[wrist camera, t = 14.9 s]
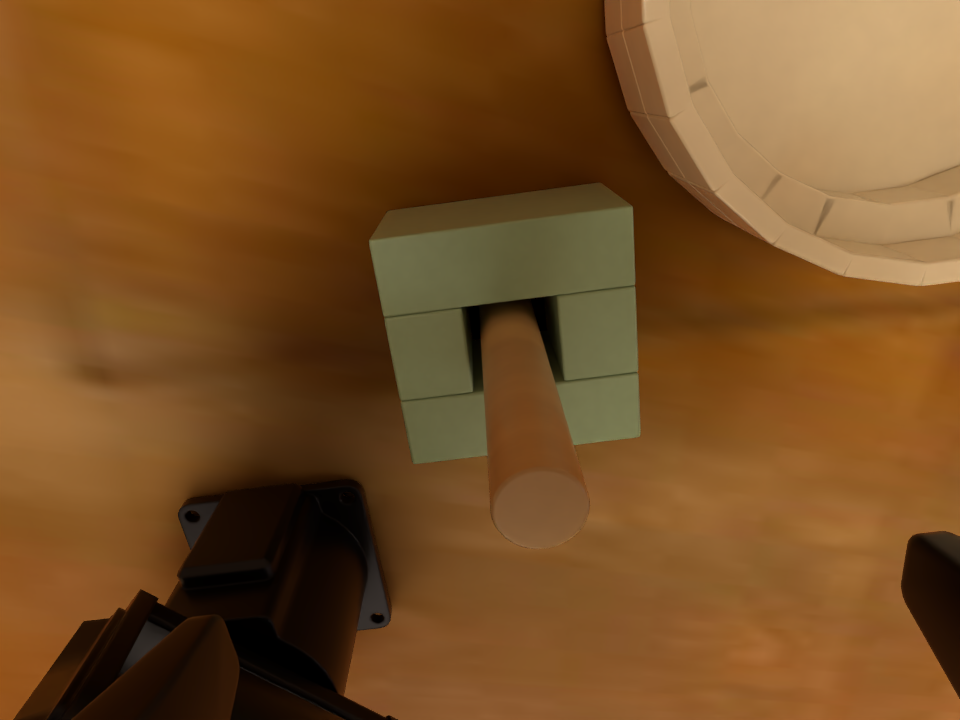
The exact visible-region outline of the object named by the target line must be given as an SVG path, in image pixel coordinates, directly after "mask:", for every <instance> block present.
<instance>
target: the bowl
mask: <svg viewBox="0 0 960 720" xmlns="http://www.w3.org/2000/svg"><path fill="white" fill-rule="evenodd" d="M604 5H605V26H606V35H607V42H608V45H609V49H610V52H611V55H612V59H613V62H614V65H615V69H616V72H617V75H618V79H619V82H620V85H621V89H622V92H623V95H624V99H625V102H626V106H627V109H628V111H631V112H630V114H631V117H632V118H633V120H634V121H635V123H636V125H637V126H638V128H639V129H640V131H641V133H642V134H643V136H644V137H645V139H646V141H647V142H648V144H649V145H650V147H651V148H652V150H653V152H654V153H655V155H656V156H657V158H658V160H659V161H660V163H661V164H662V166H663V168H664V169H665V170H666V171H668V174H669V175H670V176H671V177H672V178H673V179H675V180H676V181H677V182H678V183H679V184H680V185H681V186H682V187H684V188H685V189H686V190H687V191H688V192H689V193H690V194H692V195H693V196H694V197H695V198H696V199H697V200H698V201H700V202H701V203H702V204H703V205H704V206H705V207H706V208H708V209H709V210H710V211H711V212H712V213H713V214H715V215H717V216H718V217H720V218H721V219H723V220H725V221H727V222H729V223H731V224H733V225H735V226H737V227H739V228H740V229H742V230H744V231H746V232H748V233H750V234H752V235H754V236H755V237H757V238H759V239H761V240H763V241H765V242H767V243H769V244H771V245H773V246H775V247H777V248H779V249H781V250H783V251H786V252H788V253H790V254H792V255H795V256H797V257H799V258H801V259H804V260H806V261H808V262H810V263H813V264H815V265H817V266H819V267H822V268H824V269H826V270H828V271H831V272H833V273H835V274H837V275H842V276H844V277H851V278H859V279H866V280H874V281H881V282H889V283H897V284H904V285H912V286H919V285H920V286H926V285H934V284H942V283H950V282H958V281H960V0H604Z"/></svg>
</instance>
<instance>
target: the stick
mask: <svg viewBox="0 0 960 720" xmlns="http://www.w3.org/2000/svg"><path fill="white" fill-rule="evenodd" d="M479 318H480V335H481V353H482V370H483V388H484V405H485V423H486V440H487V458H488V475H489V492H490V510H491V517H492V520H493V523H494V525H495V526H496V528H497V529H498V531H499V532H500V533H501V534H502V535H503V536H504V537H505V538H506V539H508V540H509V541H510V542H512V543H514V544H516V545H519V546H522V547H525V548H531V549H545V548H551V547H555V546H558V545H560V544H563V543H565V542H566V541H568V540H570V539H571V538H573V537H574V536H575V535H576V534H577V533H578V532H579V531H580V530H581V528H582V527H583V525H584V524H585V522H586V520H587V517H588V514H589V509H590V500H589V495H588V491H587V488H586V485H585V481H584V478H583V475H582V471H581V468H580V465H579V461H578V458H577V454H576V451H575V448H574V444H573V441H572V438H571V434H570V431H569V428H568V424H567V421H566V418H565V414H564V411H563V407H562V404H561V401H560V397H559V394H558V391H557V387H556V384H555V381H554V377H553V374H552V371H551V367H550V364H549V360H548V357H547V354H546V350H545V347H544V344H543V340H542V337H541V334H540V330H539V327H538V323H537V320H536V317H535V313H534V310H533V307H532V303H531V300H530V299H522V300H515V301H507V302H499V303H491V304H483V305H479Z"/></svg>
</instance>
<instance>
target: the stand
mask: <svg viewBox="0 0 960 720" xmlns="http://www.w3.org/2000/svg"><path fill="white" fill-rule="evenodd" d="M369 246H370V251H371V256H372V261H373V267H374V272H375V277H376V282H377V287H378V292H379V297H380V302H381V307H382V312H383V316H384V317H385V319H384V322H385V327H386V332H387V337H388V342H389V347H390V352H391V357H392V362H393V367H394V372H395V378H396V383H397V388H398V393H399V398H400V399H401V408H402V413H403V418H404V423H405V428H406V433H407V438H408V443H409V448H410V453H411V458H412V462H413V463H414V464H421V463H429V462H437V461H446V460H454V459H462V458H470V457H479V456H487V440H486V423H485V405H484V388H483V370H482V353H481V339H477V340H472V332H471V325H470V317H469V310H468V306H476V305H483V304H491V303H499V302H507V301H515V300H522V299H530V298H538V297H544V304H545V315H546V326H547V330H548V331H540V334H541V337H542V340H543V344H544V347H545V350H546V354H547V357H548V360H549V364H550V367H551V371H552V374H553V377H554V381H555V384H556V387H557V391H558V394H559V397H560V401H561V404H562V407H563V411H564V414H565V418H566V421H567V424H568V428H569V431H570V434H571V438H572V441H573V444H574V445H578V444H586V443H595V442H603V441H611V440H619V439H628V438H636V437H640V434H641V430H640V402H639V374H638V373H637V371H638V341H637V313H636V288H635V286H634V285H635V283H636V281H635V252H634V224H633V207H632V205H630V204H629V203H628V202H626V201H625V200H624V199H622V198H621V197H620V196H618V195H617V194H615V193H614V192H613V191H611V190H610V189H609V188H607V187H606V186H605V185H603V184H602V183H592V184H584V185H577V186H569V187H562V188H554V189H547V190H539V191H532V192H524V193H517V194H509V195H502V196H494V197H487V198H479V199H472V200H464V201H457V202H449V203H442V204H434V205H427V206H419V207H412V208H404V209H397V210H389V211H387V212H386V214H385V216H384V217H383V219H382V220H381V222H380V224H379V225H378V227H377V229H376V230H375V232H374V233H373V235H372V237H371V238H370V240H369Z"/></svg>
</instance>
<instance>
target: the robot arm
mask: <svg viewBox="0 0 960 720" xmlns="http://www.w3.org/2000/svg"><path fill="white" fill-rule="evenodd" d="M344 492H351V493H352V494H353V495H354V497H346V496H344V494H343V493H344ZM190 510H191V511H196V512H197V513H198V514H199V515H200V516H198V515H194V514H192V513H191V511H190ZM178 517H179V520H180V523H181V526H182V528H183V531H184V534H185V536H186V539H187V542H188V544H189V547H190V550H191V551H190V553H189V554H188V556H187V558H186V559H185V561H184V563H183V564H182V566H181V568H180V569H179V571H178V574H177V576H178V579H179V582H178V584H177V585H176V587H175V589H174V591H173V592H172V594H171V596H170V597H169V599H168V601H167V603H166V604H165V606H164V605H162V604H160V603H158V602H157V600H158V598H157V597H155V596H153V595H151V594H149V593H147V592H145V591H143V590H141V589H140V591H139V592H138V593H137V595H136V596H135V597H134V599H133V600H132V602H131V603H130V604H129V606H128V607H127V608H126V610H123V609H121V608H118V609H117V611H116V612H115V613H114V615H112V616H111V617H110V618H109V619H100V620H91V621H84V622H83V623H82V625H81V626H80V627H79V629H78V630H77V632H76V633H75V634H74V636H73V637H72V639H71V640H70V641H69V643H68V644H67V646H66V647H65V648H64V650H63V651H62V653H61V654H60V655H59V657H58V658H57V660H56V661H55V663H54V664H53V665H52V667H51V668H50V670H49V671H48V672H47V674H46V675H45V676H44V678H43V679H42V681H41V682H40V683H39V685H38V686H37V688H36V689H35V690H34V692H33V693H32V694H31V696H30V697H29V699H28V700H27V701H26V703H25V704H24V706H23V707H22V708H21V710H20V711H19V712H18V714H17V715H16V717H15V718H14V719H13V720H398V719H396V718H394V717H392V716H390V715H388V716H387V717H383V716H382V715H380V714H378V713H376V712H374V711H372V710H370V709H368V708H366V707H364V706H362V705H360V704H358V703H356V702H354V701H352V700H350V699H348V698H346V697H344V692H345V687H346V682H347V677H348V672H349V667H350V662H351V657H352V652H353V647H354V642H355V637H356V632H357V631H358V630H367V629H375V628H382V627H385V626H386V625H388V624H389V622H390V620H391V613H392V608H391V604H390V600H389V596H388V591H387V587H386V583H385V579H384V575H383V570H382V566H381V562H380V558H379V553H378V549H377V545H376V541H375V536H374V532H373V528H372V524H371V519H370V515H369V511H368V507H367V502H366V498H365V494H364V490H363V488H362V486H361V485H360V484H359V483H358V482H357V481H354V480H347V479H346V480H338V481H330V482H321V483H313V484H305V485H297V484H294V483H292V484H284V485H276V486H267V487H259V488H251V489H243V490H234V491H228V492H226V493H225V494H222V495H213V496H205V497H197V498H191V499H188V500H187V501H185V502H184V504H183V505H182V507H181V508H180V510H179V512H178ZM901 589H902V594H903V598H904V600H905V603H906V605H907V607H908V608H909V610H910V612H911V614H912V615H913V617H914V619H915V621H916V623H917V624H918V626H919V628H920V630H921V631H922V633H923V635H924V637H925V638H926V640H927V642H928V644H929V645H930V647H931V649H932V651H933V653H934V654H935V656H936V658H937V660H938V661H939V663H940V665H941V667H942V668H943V670H944V672H945V674H946V675H947V677H948V679H949V681H950V682H951V684H952V686H953V688H954V690H955V691H956V693H957V695H958V697H959V698H960V537H959V536H957V535H955V534H952V533H950V532H946V531H938V532H929V533H920V534H916V535H913V536H912V537H911V538H910V539H909V541H908V544H907V550H906V556H905V562H904V568H903V575H902V581H901ZM374 613H380V614H382V615H376V614H374Z"/></svg>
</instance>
